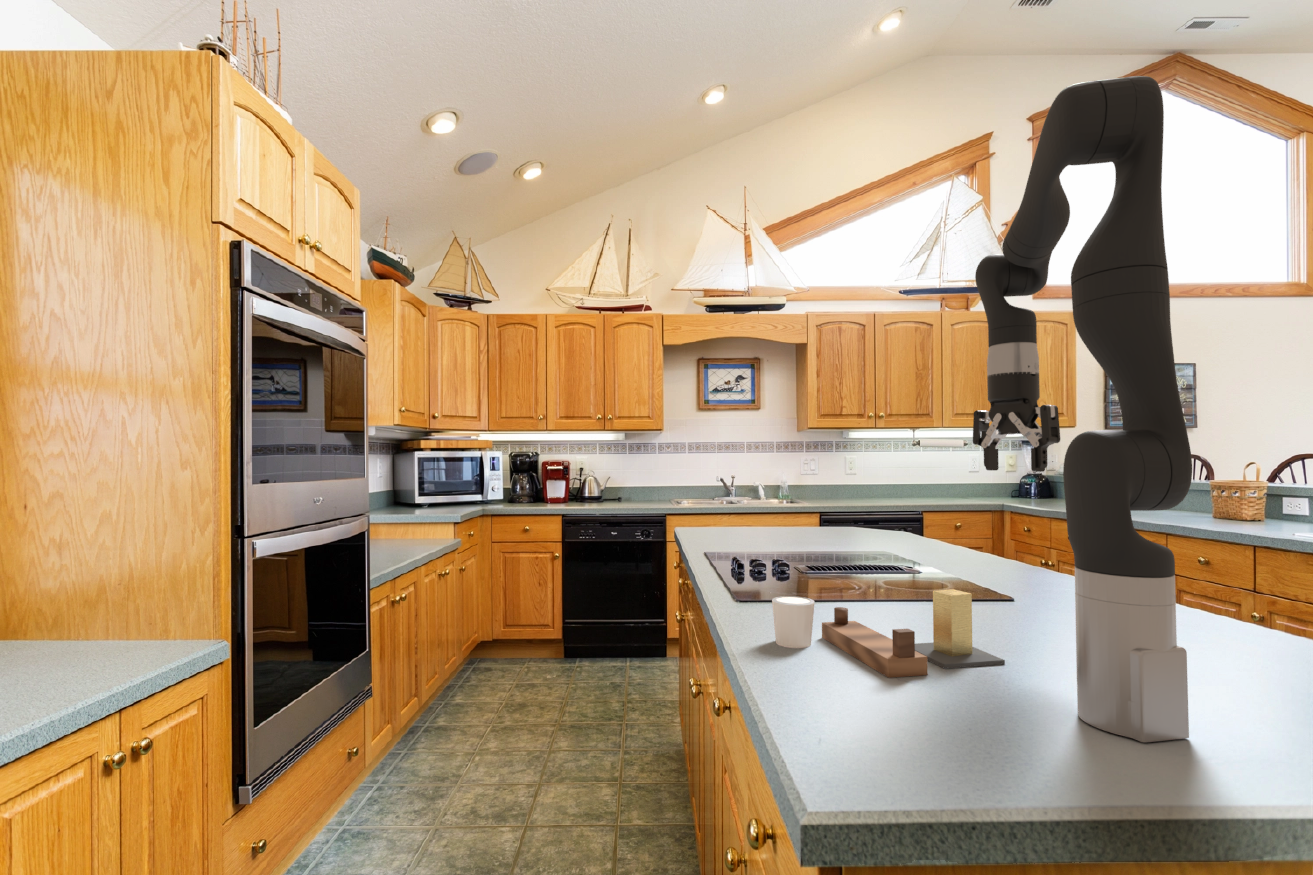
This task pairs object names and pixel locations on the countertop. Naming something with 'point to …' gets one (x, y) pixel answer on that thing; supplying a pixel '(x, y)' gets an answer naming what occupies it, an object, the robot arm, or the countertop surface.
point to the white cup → (793, 621)
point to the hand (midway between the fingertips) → (1014, 470)
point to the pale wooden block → (952, 622)
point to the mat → (957, 657)
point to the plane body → (876, 646)
